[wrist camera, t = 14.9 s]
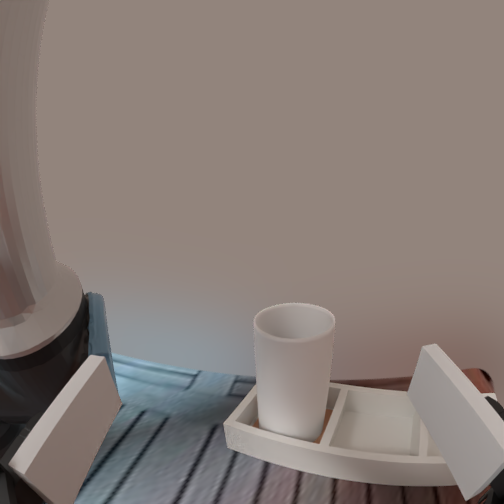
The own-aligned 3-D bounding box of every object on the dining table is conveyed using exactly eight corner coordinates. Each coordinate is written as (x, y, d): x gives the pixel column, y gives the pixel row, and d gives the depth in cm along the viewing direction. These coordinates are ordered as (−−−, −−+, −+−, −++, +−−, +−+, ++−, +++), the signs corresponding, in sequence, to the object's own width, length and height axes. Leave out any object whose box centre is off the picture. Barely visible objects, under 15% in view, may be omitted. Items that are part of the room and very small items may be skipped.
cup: (246, 422, 32) (237, 317, 29) (294, 397, 37) (296, 296, 33) (286, 459, 26) (291, 350, 22) (335, 425, 30) (352, 318, 27)
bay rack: (227, 447, 29) (223, 423, 28) (268, 393, 40) (267, 368, 39) (489, 481, 14) (509, 457, 13) (481, 417, 24) (494, 391, 23)
